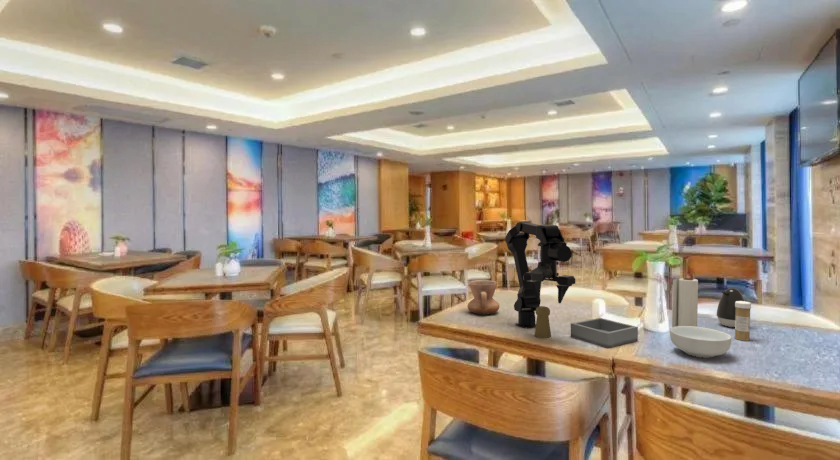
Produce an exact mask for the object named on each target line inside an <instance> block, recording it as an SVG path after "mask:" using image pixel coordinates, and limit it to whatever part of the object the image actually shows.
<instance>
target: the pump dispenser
mask: <svg viewBox="0 0 840 460" xmlns="http://www.w3.org/2000/svg"><path fill="white" fill-rule="evenodd" d="M721 293H722V294H721V296H720V298H719V299H720V300H719V301H718V305H717V308H716V317H717V320H718V321H719V323H720V324H721V325H723V326H724V325H725V327H727V326H729V327H728V328H732V327H735V312H736V308H735V302H736V301H745V298H744V296H743V294H742V293H741V291H740V290H739V289H737V288H736V287H735V288H734V287H729V288H727V289H725V290H722V291H721Z"/></svg>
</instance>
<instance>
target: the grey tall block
mask: <svg viewBox="0 0 840 460" xmlns="http://www.w3.org/2000/svg"><path fill="white" fill-rule="evenodd" d="M698 291H699V280H698V279H696V278H691V277H690V278H686V277H684V278H682V277H681V278H672V305H671V306H672V307H671V308H672V315H671V317H672V318H671V319H672V320H671V321H672V322H671V325H672V326H671V328H673V327H676V326H695V327H698V313H699V312H698V310H699V309H698V305H699V304H698V303H699V302H698V301H699V300H698V299H699V298H698V297H699V295H698V294H699V292H698Z"/></svg>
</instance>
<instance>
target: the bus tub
mask: <svg viewBox="0 0 840 460" xmlns="http://www.w3.org/2000/svg"><path fill="white" fill-rule="evenodd" d="M638 328H639V327H638V326H635V325H632V324H628V323H627V324H626V323H624V322H620V321H616V320H610V319H608V318H607V319H606V318H602V317H597V318H592V319H586V320H581V321H576V322H571V323H570V337H571V338H574V339H577V340H580V341H584V342H587V343H590V344H593V345H596V346H599V347H603V348H606V349H611V348H615V347H618V346H622V345H626V344H630V343H634V342H638V340H639V329H638Z"/></svg>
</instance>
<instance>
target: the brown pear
mask: <svg viewBox="0 0 840 460" xmlns="http://www.w3.org/2000/svg"><path fill="white" fill-rule="evenodd" d="M535 315H536V319H535V324H536V326H535V329H534V337H535V338H538V339H551V338H552V332H551V326H550V325H551V323H550V318H549V317H550V315H551V309H550V307H548V306H545V305H542V306H540V307H537V308H536V311H535Z"/></svg>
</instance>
